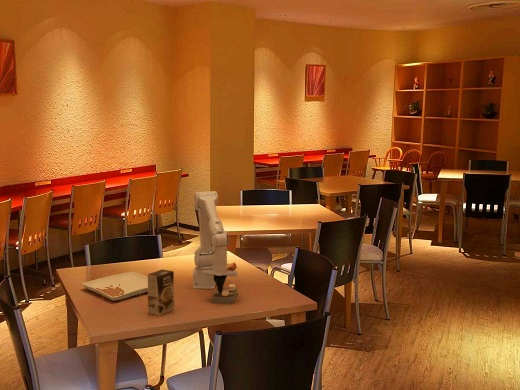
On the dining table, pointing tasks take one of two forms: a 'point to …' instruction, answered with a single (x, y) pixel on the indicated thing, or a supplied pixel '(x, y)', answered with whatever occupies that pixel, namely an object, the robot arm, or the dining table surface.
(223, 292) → the front tab
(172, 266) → the dining table surface
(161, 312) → the coffee box
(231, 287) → the tab
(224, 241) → the robot arm
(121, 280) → the square plate
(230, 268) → the slice of bread
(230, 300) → the switch board
